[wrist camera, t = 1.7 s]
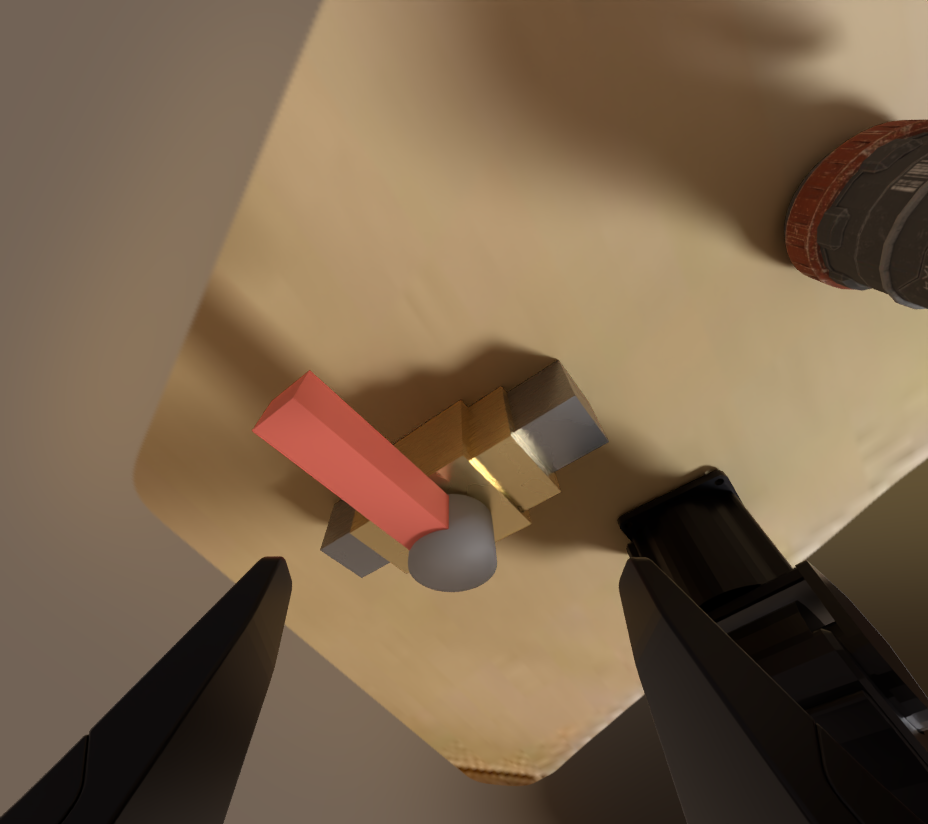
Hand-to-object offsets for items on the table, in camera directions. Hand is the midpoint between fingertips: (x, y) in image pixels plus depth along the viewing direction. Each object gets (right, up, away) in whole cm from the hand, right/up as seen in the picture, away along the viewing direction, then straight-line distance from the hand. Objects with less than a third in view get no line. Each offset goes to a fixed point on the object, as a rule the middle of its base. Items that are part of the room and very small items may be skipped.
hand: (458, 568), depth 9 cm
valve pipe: (-1, +1, +14) cm, 14 cm away
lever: (-3, +1, +8) cm, 9 cm away
